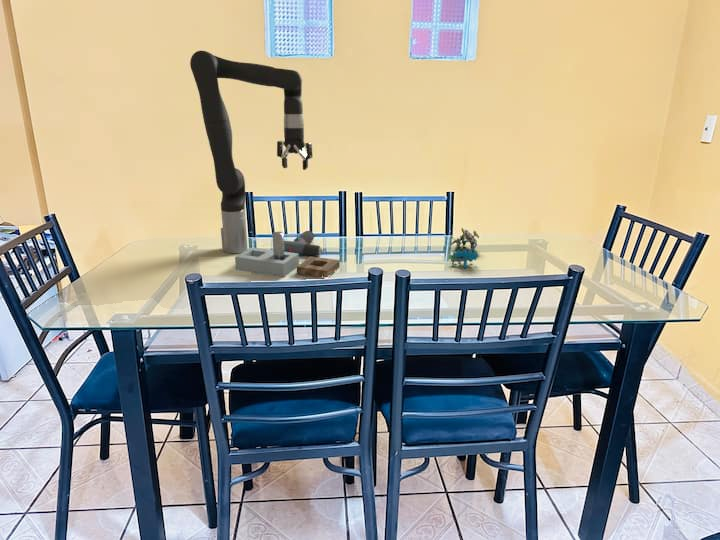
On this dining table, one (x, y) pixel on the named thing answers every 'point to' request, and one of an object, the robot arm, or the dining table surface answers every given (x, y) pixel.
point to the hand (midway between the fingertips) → (295, 168)
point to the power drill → (303, 245)
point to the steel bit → (278, 245)
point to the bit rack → (266, 262)
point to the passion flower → (466, 239)
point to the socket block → (318, 267)
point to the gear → (463, 257)
